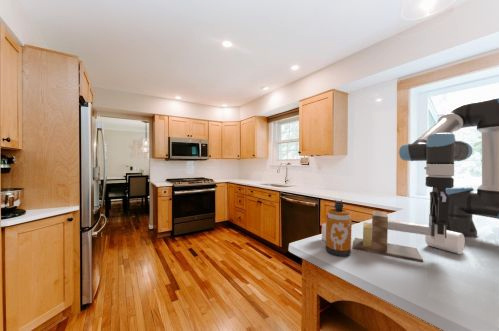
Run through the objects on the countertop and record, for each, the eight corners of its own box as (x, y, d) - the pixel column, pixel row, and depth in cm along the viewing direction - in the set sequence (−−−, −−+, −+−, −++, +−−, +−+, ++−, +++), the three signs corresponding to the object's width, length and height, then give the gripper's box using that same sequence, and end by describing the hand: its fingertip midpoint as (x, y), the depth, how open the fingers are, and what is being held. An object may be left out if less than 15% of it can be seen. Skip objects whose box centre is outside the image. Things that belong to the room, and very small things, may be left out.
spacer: (371, 241, 90) (371, 223, 90) (371, 248, 83) (371, 228, 83) (363, 240, 91) (363, 222, 91) (362, 246, 84) (363, 226, 84)
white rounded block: (457, 256, 79) (457, 235, 79) (424, 247, 87) (425, 228, 87) (467, 250, 85) (468, 230, 85) (436, 241, 93) (436, 224, 93)
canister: (325, 254, 78) (326, 201, 78) (325, 244, 88) (326, 197, 88) (352, 259, 75) (353, 203, 75) (349, 247, 85) (350, 198, 85)
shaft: (442, 234, 77) (443, 215, 77) (446, 238, 73) (446, 218, 73) (378, 226, 87) (379, 209, 87) (379, 228, 83) (379, 211, 83)
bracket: (416, 250, 84) (417, 215, 84) (423, 262, 73) (424, 222, 73) (355, 239, 95) (355, 208, 95) (353, 248, 84) (353, 213, 84)
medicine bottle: (346, 243, 89) (346, 215, 89) (332, 245, 87) (332, 216, 87) (334, 237, 96) (335, 211, 96) (321, 239, 94) (322, 212, 94)
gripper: (421, 175, 85) (419, 232, 85) (431, 177, 70) (429, 246, 70) (445, 175, 81) (444, 235, 81) (462, 178, 66) (460, 251, 67)
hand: (437, 240), depth 76 cm, fingers closed on shaft, 4 cm apart
